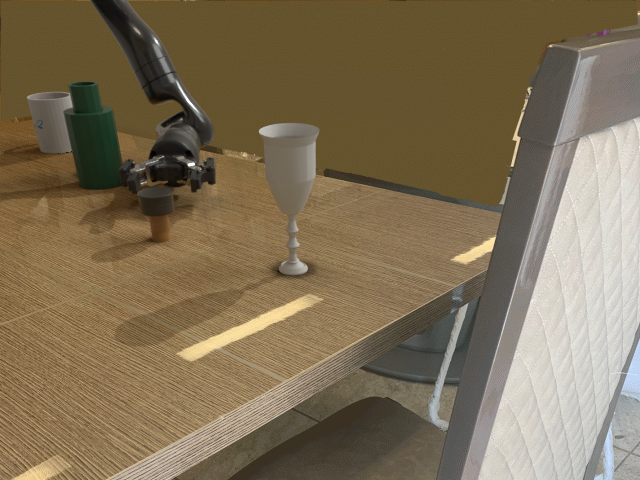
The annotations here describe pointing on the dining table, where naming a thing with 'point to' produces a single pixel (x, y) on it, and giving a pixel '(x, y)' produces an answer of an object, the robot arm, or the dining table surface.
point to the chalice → (290, 177)
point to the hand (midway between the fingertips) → (163, 186)
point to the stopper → (157, 210)
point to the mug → (50, 120)
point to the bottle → (93, 137)
